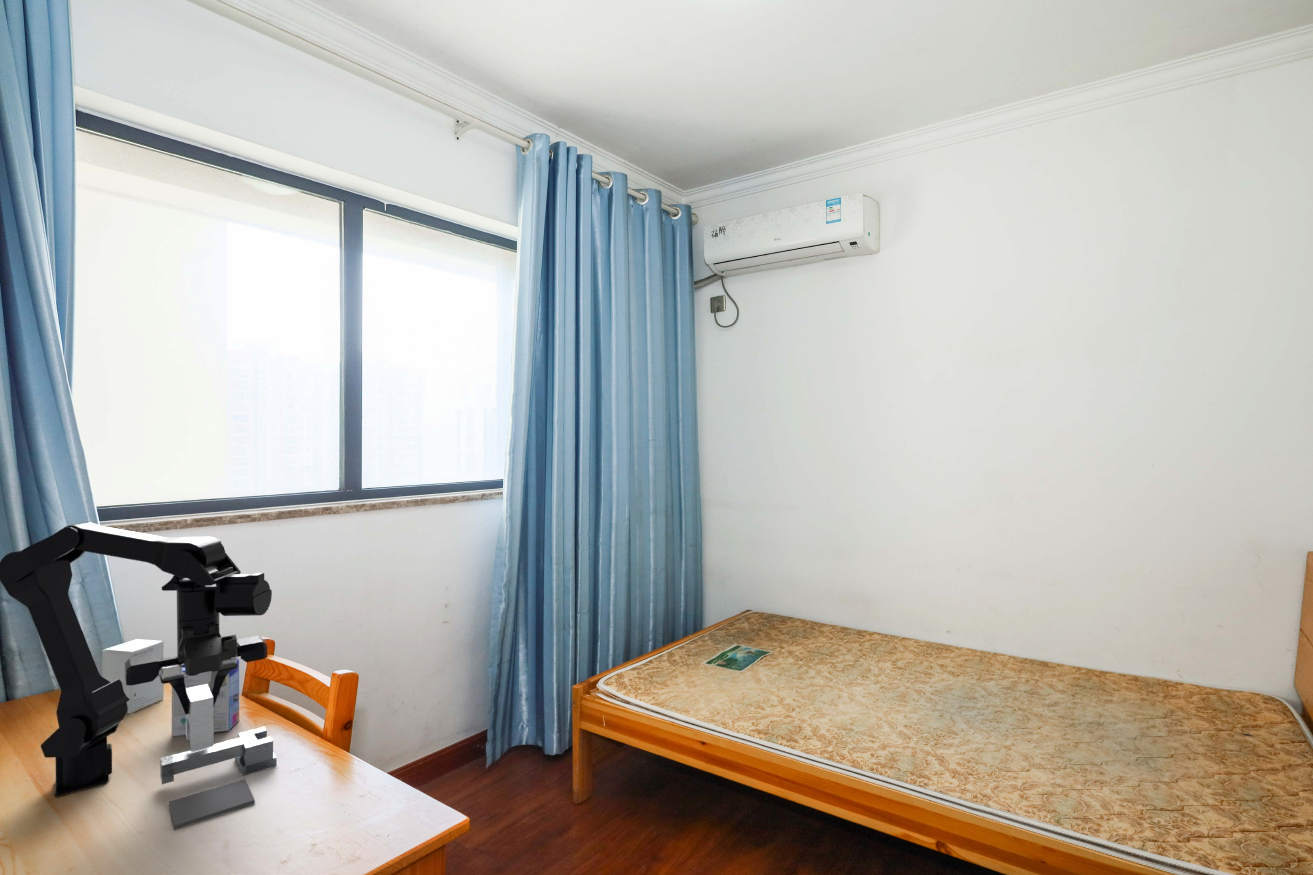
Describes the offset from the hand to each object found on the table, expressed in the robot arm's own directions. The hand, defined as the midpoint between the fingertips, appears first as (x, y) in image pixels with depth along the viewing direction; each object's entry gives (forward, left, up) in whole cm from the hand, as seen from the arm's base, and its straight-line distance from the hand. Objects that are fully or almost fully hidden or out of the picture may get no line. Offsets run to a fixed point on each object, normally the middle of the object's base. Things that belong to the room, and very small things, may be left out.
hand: (199, 710), depth 108 cm
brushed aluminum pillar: (0, 0, -1) cm, 1 cm away
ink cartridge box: (+3, +21, -12) cm, 24 cm away
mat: (0, -10, -11) cm, 15 cm away
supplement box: (-7, +43, -12) cm, 45 cm away
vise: (+2, 0, -11) cm, 12 cm away
